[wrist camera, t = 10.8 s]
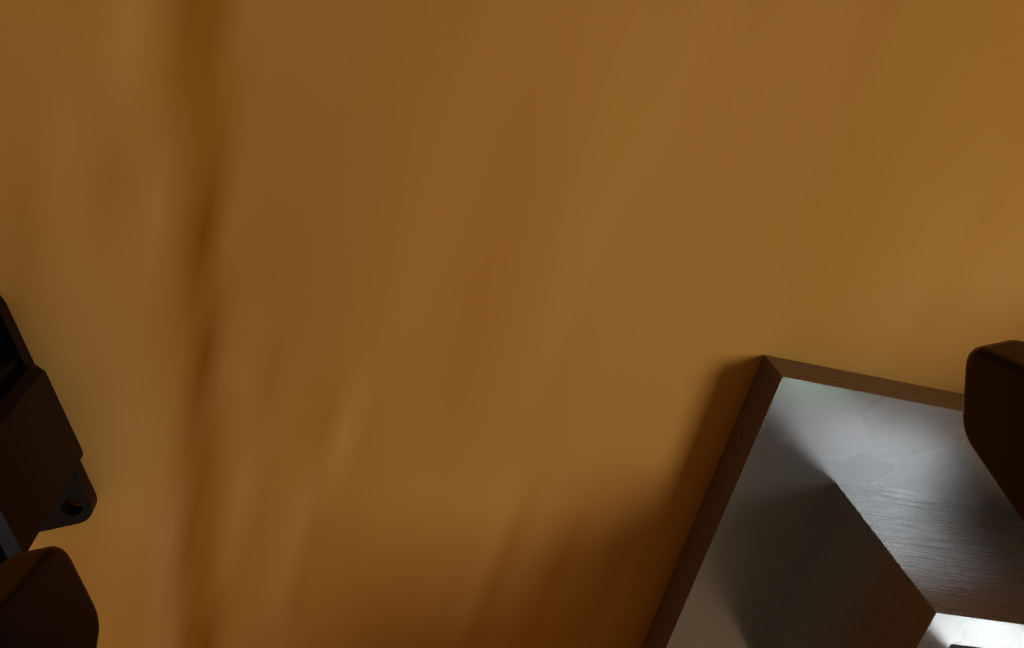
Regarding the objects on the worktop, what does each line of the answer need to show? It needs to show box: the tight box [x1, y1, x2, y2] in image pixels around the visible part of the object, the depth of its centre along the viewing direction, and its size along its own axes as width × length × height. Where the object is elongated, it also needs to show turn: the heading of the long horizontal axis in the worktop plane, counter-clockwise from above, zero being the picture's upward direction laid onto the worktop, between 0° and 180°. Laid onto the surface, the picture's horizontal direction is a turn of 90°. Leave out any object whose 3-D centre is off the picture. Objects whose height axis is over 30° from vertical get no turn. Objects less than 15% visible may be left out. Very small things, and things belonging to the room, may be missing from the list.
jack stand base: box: [643, 355, 1024, 648], centre depth 24 cm, size 12×12×6 cm
